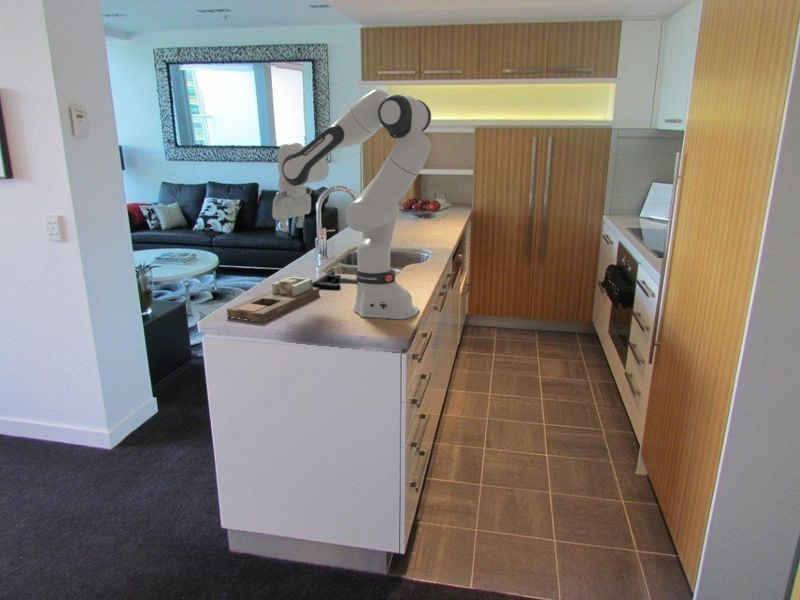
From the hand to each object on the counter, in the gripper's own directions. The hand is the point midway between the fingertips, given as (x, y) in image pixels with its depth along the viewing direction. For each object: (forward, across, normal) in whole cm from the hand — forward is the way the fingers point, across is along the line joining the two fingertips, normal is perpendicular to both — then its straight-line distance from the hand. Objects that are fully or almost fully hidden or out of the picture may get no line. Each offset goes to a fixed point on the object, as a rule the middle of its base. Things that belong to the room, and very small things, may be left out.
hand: (292, 229), depth 209 cm
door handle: (+26, +25, -4) cm, 36 cm away
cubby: (+23, -1, 0) cm, 23 cm away
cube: (+23, -4, 0) cm, 23 cm away
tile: (+23, -26, 0) cm, 35 cm away
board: (+26, -12, 0) cm, 28 cm away
